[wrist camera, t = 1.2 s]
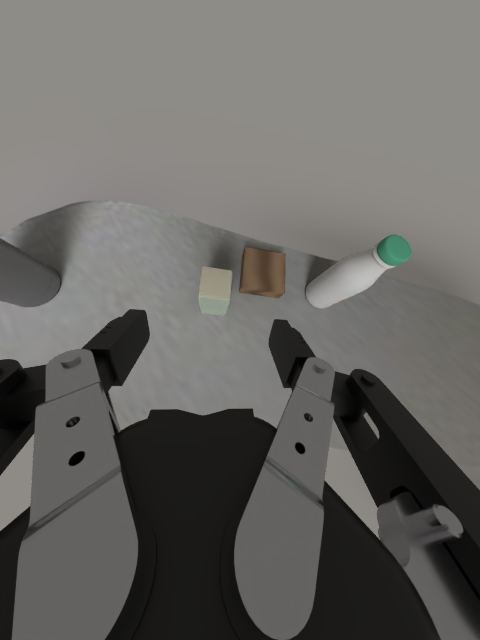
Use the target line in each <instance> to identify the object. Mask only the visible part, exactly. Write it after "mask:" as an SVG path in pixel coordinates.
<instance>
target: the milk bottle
mask: <svg viewBox="0 0 480 640" xmlns="http://www.w3.org/2000/svg"><path fill="white" fill-rule="evenodd" d="M410 256H411V248H410V245H409V244H408V242H407V241H406V240H405V239H404V238H402V237H401V236H398V235H390V236H388V237H386V238H385V239H383V240H382V241H380V242H379V243H377V244H376V245H375V246H374V248H372V249H370V250H367V251H364V252H359V253H355V254H351V255H349V256H347V257H345V258H343V259H341V260H340V261H338V262H337V263H335V264H334V265H333V266H331V267H330V268H329V269H327V270H326V271H324V272H323V273H322V274H321V275H319V276H318V277H317V278H315V279H314V280H313V281H311V282H310V283H309V284H308V285H307V287H306V292H305V293H306V298H307V300H308V302H309V303H310V304H311V305H312V306H314V307H316V308H326V307H329V306H331V305H333V304H336V303H338V302H340V301H343V300H345V299H347V298H349V297H351V296H354V295H356V294H358V293H360V292H362V291H364V290H365V289H367V288H369V287H370V286H371V285H372V284H373V283H374V282H375V281H376V280H377V279H378V278H379V276H380V275H381V274H382V273H383V272H384V271H385V270H387V269H388V268H393V267H395V266H396V265H399V264H401V263H403V262H405V261H407V260H408V259H409V258H410Z"/></svg>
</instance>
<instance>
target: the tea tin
mask: <svg viewBox="0 0 480 640" xmlns="http://www.w3.org/2000/svg"><path fill="white" fill-rule="evenodd" d="M231 284H232V271H230V270H224V269H217V268H210V267H204V266H203V269H202V273H201V281H200V288H199V296H198V299H199V304H200V309H201V313H208V314H217V315H225V314H226V311H227V309H228V306H229V303H230V295H231Z"/></svg>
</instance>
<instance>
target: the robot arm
mask: <svg viewBox="0 0 480 640" xmlns="http://www.w3.org/2000/svg"><path fill="white" fill-rule="evenodd" d="M59 288H60V277H59V275H58V273H57V272H56V271H55V270H54V269H53V268H51V267H50V266H48V265H46V264H44V263H43V262H41V261H39V260H37V259H36V258H34V257H32V256H30V255H29V254H27V253H25V252H23V251H22V250H20V249H18V248H16V247H15V246H13V245H11V244H9V243H8V242H6V241H4V240H2V239H1V238H0V301H3V302H7V303H11V304H14V305H18V306H22V307H35V306H38V305H42V304H44V303H46V302H48V301H49V300H51V299H52V298H53V297H54V296H55V295H56V293H57V292H58V290H59ZM149 336H150V332H149V326H148V320H147V314H146V311H145V310H135V309H130V310H128V311H127V312H126V313H125V314H124V315H123V316H122V317H118V318H116V319H114V320H112V321H110V322H109V323H108V324H107V325H106V326H105V328H103V329H102V330H101V331H100V333H98V334H97V335H95V336H94V337H93V338H92V339H91V340H90V341H89V342H88V343H87V344H86V345H85V346H84V347H83V348H82V349H76V350H71V351H67V352H65V353H62V354H60V355H58V356H56V357H54V358H53V359H52V360H50V361H49V363H48V364H47V365H41V366H35V367H29V368H22V366H21V365H20V363H19V362H18V361H16V360H12V359H4V360H0V475H1V474H2V473H3V471H4V470H5V469H6V468H7V466H8V465H9V464H10V463H11V461H12V460H13V459H14V458H15V456H16V455H17V454H18V452H19V451H20V450H21V449H22V448H23V447H24V445H25V444H26V443H27V442H28V440H29V439H30V438H31V437H32V435H33V434H34V452H33V471H32V489H31V506H30V507H29V508H28V509H26V510H25V511H24V512H23V513H21V514H20V515H19V516H18V517H17V518H15V519H14V520H13V521H12V522H11V523H10V524H8V525H7V526H6V527H5V528H4V529H3V530H1V531H0V640H480V490H479V489H478V488H477V487H476V486H475V485H474V484H473V483H472V481H471V480H470V479H469V478H468V477H467V476H466V475H465V474H464V473H463V471H462V470H461V469H460V468H459V467H458V466H457V465H456V464H455V463H454V461H453V460H452V459H451V458H450V457H449V456H448V455H447V454H446V453H445V451H444V450H443V449H442V448H441V447H440V446H439V445H438V444H437V443H436V441H435V440H434V439H433V438H432V437H431V436H430V435H429V434H428V433H427V431H426V430H425V429H424V428H423V427H422V426H421V425H420V424H419V423H418V421H417V420H416V419H415V418H414V417H413V416H412V415H411V414H410V413H409V411H408V410H407V409H406V408H405V407H404V406H403V405H402V404H401V403H400V401H399V400H398V399H397V398H396V397H395V396H394V395H393V394H392V393H391V391H390V390H389V389H388V388H387V387H386V386H385V385H384V384H383V383H382V381H381V380H380V379H379V378H377V377H376V376H375V375H373V374H372V373H370V372H367V371H365V370H361V369H355V370H353V371H352V372H351V374H350V375H346V374H343V373H339V372H335V371H334V369H333V367H332V366H331V365H330V364H329V363H328V362H326V361H324V360H322V359H320V358H316V356H315V355H314V353H313V352H312V350H311V349H310V347H309V346H308V344H307V343H306V341H305V340H304V339H303V337H302V335H301V334H300V332H298V331H297V330H296V329H295V328H291V326H290V324H289V323H288V321H287V320H279V319H275V320H274V322H273V326H272V329H271V333H270V337H269V348H270V351H271V354H272V356H273V359H274V362H275V365H276V368H277V370H278V373H279V376H280V379H281V382H282V384H283V387H284V388H291V389H292V393H291V396H290V398H289V400H288V403H287V405H286V408H285V410H284V412H283V415H282V417H281V419H280V422H279V424H278V426H277V429H276V428H275V427H274V426H272V425H271V424H269V423H268V422H266V421H264V420H262V419H260V418H257V417H254V414H253V409H227V410H223V411H220V412H216V413H212V414H209V415H204V416H202V415H197V414H194V413H190V412H186V411H182V410H178V409H171V410H151V411H150V413H149V416H148V419H144V420H142V421H139V422H136V423H134V424H132V425H130V426H128V427H126V428H125V429H123V430H120V427H119V424H118V421H117V418H116V414H115V411H114V408H113V404H112V401H111V398H110V395H109V392H108V391H109V389H110V388H111V386H122V385H123V383H124V381H125V380H126V378H127V376H128V375H129V373H130V371H131V370H132V368H133V366H134V364H135V363H136V361H137V359H138V358H139V356H140V354H141V353H142V351H143V349H144V348H145V346H146V344H147V342H148V340H149ZM366 412H367V413H368V415H369V416H370V418H371V419H372V421H373V422H374V424H375V425H376V427H377V428H378V431H379V439H378V438H377V436H376V435H375V433H374V432H373V430H372V429H371V427H370V426H369V424H368V423H367V421H366V419H365V418H364V416H363V415H364V414H365V413H366ZM333 419H334V421H335V423H336V425H337V427H338V429H339V431H340V433H341V435H342V437H343V439H344V441H345V443H346V445H347V447H348V449H349V451H350V453H351V455H352V457H353V459H354V461H355V463H356V465H357V467H358V469H359V471H360V473H361V475H362V477H363V479H364V481H365V483H366V485H367V487H368V489H369V491H370V493H371V496H372V498H373V500H374V502H375V504H376V506H377V508H378V510H377V519H378V524H379V529H378V535H379V538H380V540H379V539H378V537H376V535H375V534H374V533H373V532H372V531H371V530H370V529H369V528H368V527H367V526H366V525H365V523H364V522H363V521H362V520H361V519H360V518H359V517H358V516H357V515H356V514H355V513H354V512H353V510H352V509H351V508H350V507H349V506H348V505H347V504H346V503H345V502H344V501H343V500H342V499H341V497H340V496H339V495H338V494H337V493H336V492H335V491H334V490H333V489H332V488H331V487H330V486H329V485H328V483H327V482H325V480H324V479H325V472H326V465H327V456H328V450H329V443H330V435H331V428H332V421H333Z"/></svg>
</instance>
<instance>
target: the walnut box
mask: <svg viewBox="0 0 480 640" xmlns="http://www.w3.org/2000/svg"><path fill="white" fill-rule="evenodd" d="M285 256H286V254H282V253H276V252H271V251H265V250H260V249H254V248H249V247H245V249H244V252H243V255H242V266H241V277H240V288H239V292H240V293H247V294H253V295H260V296H267V297H274V298H279V297H280V296H281V295H283V294H284V293H285Z"/></svg>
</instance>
